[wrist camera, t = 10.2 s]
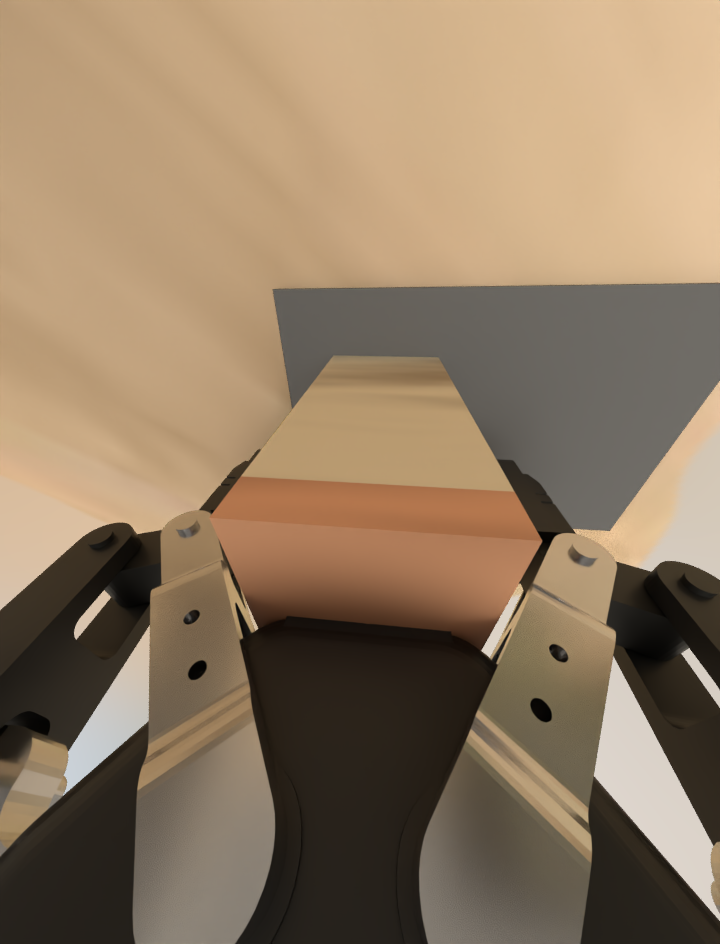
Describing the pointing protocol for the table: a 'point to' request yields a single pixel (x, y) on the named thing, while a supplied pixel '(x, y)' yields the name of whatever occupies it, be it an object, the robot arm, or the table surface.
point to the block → (378, 507)
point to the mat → (537, 370)
